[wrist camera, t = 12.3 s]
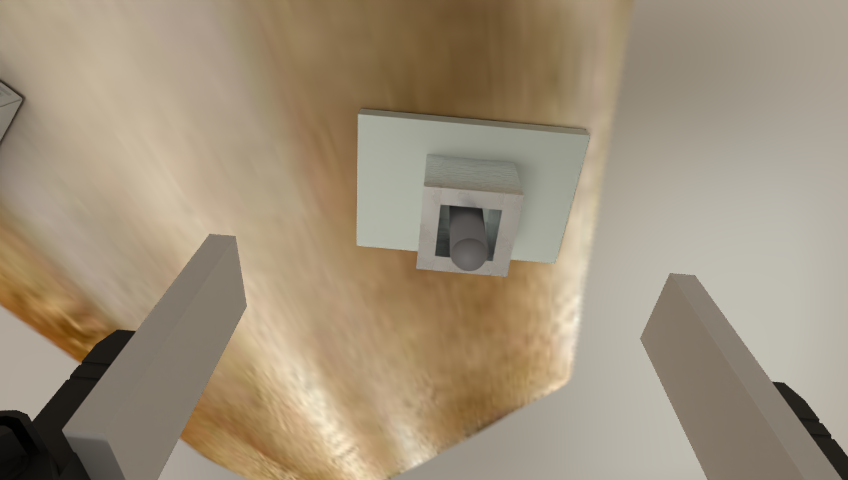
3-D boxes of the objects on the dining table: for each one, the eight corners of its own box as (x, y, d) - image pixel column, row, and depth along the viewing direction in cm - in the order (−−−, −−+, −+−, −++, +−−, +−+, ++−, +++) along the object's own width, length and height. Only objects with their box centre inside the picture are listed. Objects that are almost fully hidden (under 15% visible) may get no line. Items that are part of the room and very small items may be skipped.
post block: (360, 108, 38) (330, 165, 28) (585, 129, 38) (634, 193, 28) (359, 236, 44) (334, 320, 34) (552, 254, 45) (582, 342, 35)
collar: (426, 154, 38) (423, 186, 33) (513, 162, 38) (524, 195, 33) (419, 229, 42) (416, 268, 37) (499, 236, 42) (506, 276, 37)
